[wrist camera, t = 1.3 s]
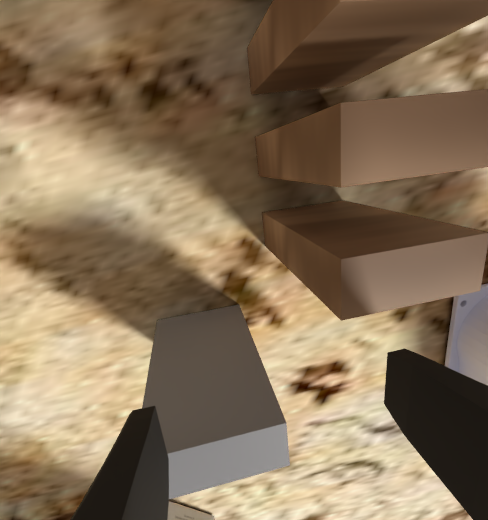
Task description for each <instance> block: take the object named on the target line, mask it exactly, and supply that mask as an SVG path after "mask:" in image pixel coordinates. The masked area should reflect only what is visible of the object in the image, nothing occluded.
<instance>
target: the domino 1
mask: <svg viewBox="0 0 488 520" xmlns="http://www.w3.org/2000/svg"><path fill="white" fill-rule="evenodd" d="M151 406H155V407H156V411H157V415H158V419H159V423H160V426H161V430H162V434H163V438H164V442H165V446H166V450H167V454H168V458H169V499H172V498H176V497H179V496H183V495H187V494H190V493H194V492H197V491H201V490H204V489H208V488H211V487H215V486H218V485H222V484H225V483H229V482H232V481H236V480H240V479H243V478H247V477H250V476H254V475H257V474H261V473H264V472H268V471H271V470H275V469H278V468H282V467H285V466H289V465H290V462H289V450H288V438H287V426H286V421H285V419H284V416H283V414H282V411H281V409H280V406H279V404H278V401H277V399H276V396H275V394H274V391H273V389H272V386H271V384H270V381H269V379H268V376H267V374H266V371H265V368H264V366H263V363H262V361H261V358H260V356H259V353H258V351H257V348H256V346H255V343H254V341H253V338H252V336H251V333H250V331H249V328H248V326H247V323H246V321H245V318H244V316H243V313H242V311H241V308H240V306H239V305H233V306H228V307H223V308H218V309H213V310H207V311H202V312H197V313H192V314H187V315H181V316H176V317H171V318H166V319H161V320H157V324H156V330H155V336H154V342H153V347H152V353H151V359H150V365H149V371H148V377H147V383H146V389H145V395H144V401H143V407H142V408H147V407H151Z"/></svg>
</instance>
